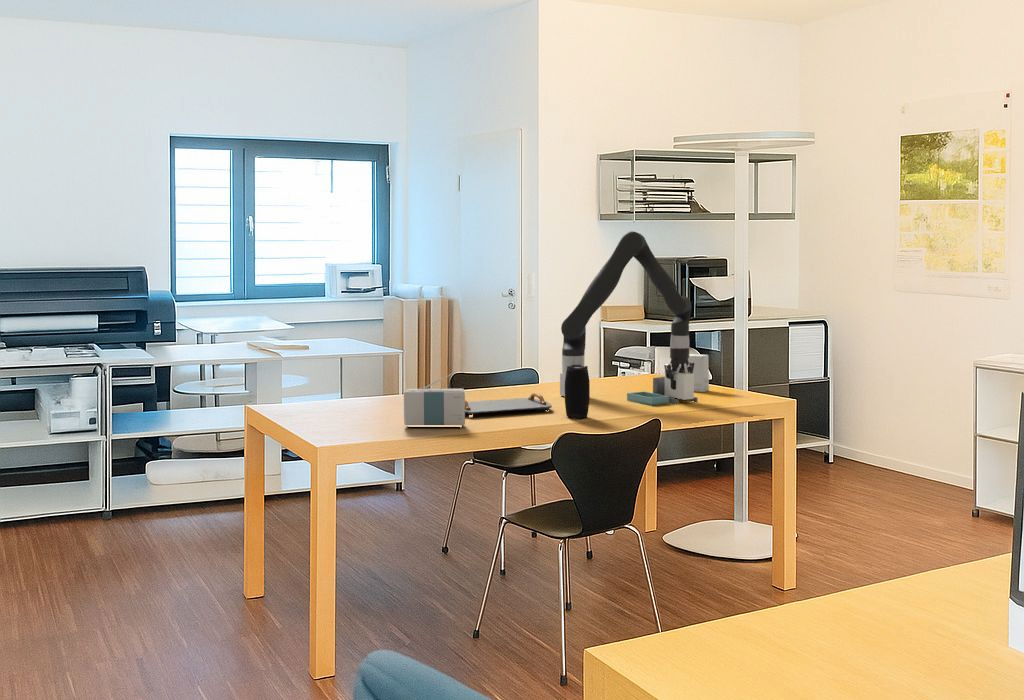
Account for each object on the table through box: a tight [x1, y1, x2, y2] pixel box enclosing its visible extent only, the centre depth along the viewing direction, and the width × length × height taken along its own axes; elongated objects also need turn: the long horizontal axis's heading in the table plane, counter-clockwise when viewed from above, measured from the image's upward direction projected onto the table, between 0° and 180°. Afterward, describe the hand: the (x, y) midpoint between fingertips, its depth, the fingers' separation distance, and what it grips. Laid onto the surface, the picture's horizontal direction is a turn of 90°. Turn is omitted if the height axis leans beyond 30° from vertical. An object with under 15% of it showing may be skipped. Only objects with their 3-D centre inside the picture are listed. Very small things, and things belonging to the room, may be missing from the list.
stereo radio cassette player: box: [403, 369, 466, 426], centre depth 358 cm, size 21×8×20 cm, turn 90°
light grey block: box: [664, 370, 695, 401], centre depth 412 cm, size 5×12×11 cm, turn 31°
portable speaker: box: [564, 365, 591, 419], centre depth 377 cm, size 8×9×19 cm
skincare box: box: [687, 353, 710, 393], centre depth 442 cm, size 8×7×16 cm
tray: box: [626, 391, 670, 407], centre depth 412 cm, size 9×16×3 cm, turn 31°
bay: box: [652, 376, 698, 405], centre depth 415 cm, size 11×15×9 cm
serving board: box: [465, 392, 552, 415], centre depth 392 cm, size 39×23×6 cm, turn 113°
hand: (679, 388), depth 413 cm, fingers closed on light grey block, 5 cm apart
